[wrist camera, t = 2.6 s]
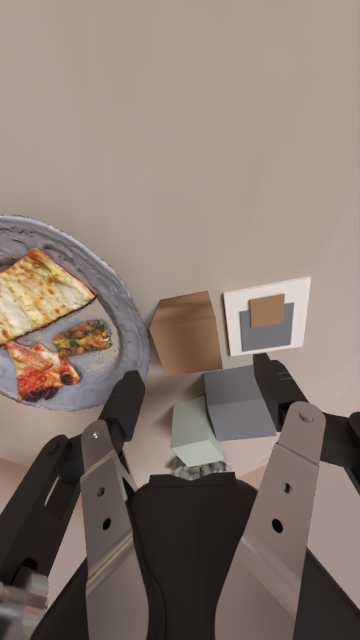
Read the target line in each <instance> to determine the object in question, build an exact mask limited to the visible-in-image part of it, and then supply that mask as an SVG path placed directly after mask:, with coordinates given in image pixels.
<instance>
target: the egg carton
mask: <svg viewBox="0 0 360 640" xmlns="http://www.w3.org/2000/svg"><path fill="white" fill-rule="evenodd" d="M223 455H224V460H223V461H218V462H213V463H208V464H203V465H198V466H193V467H188V466H187V465H186V464H185V463H184V462H183V461H182V460H181V459H180V458H176V457H175V458H174V459H173V469H172V472H171V471H170V474H171V475H174V476H177V477H180V478H183V479H187V480H194V479H197V478H200V477H202V476H205V475H208V474H210V473H217V472H231V465H228V466H227V464H226V457H225V453H224V449H223ZM199 467H201V470H200V469H199Z"/></svg>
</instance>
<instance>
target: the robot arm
mask: <svg viewBox="0 0 360 640" xmlns="http://www.w3.org/2000/svg"><path fill="white" fill-rule="evenodd" d="M253 365H254V376H255V379H256V382H257V385H258V387H259V389H260V392H261V394H262V397H263V399H264V401H265V404H266V406H267V409H268V411H269V413H270V416H271V418H272V421H273V423H274V425H275V428H276V430H277V432H281V434H280V437H279V440H278V442H277V443H275V445H274V447H273V450H272V453H271V456H270V459H269V462H268V465H267V467H266V470H265V473H264V476H263V479H262V482H261V485H260V488H259V491H258V490H257V489H255V488H254V487H253V486H251V485H249V484H248V483H245V482H244V481H241V480H238V479H236V476H235V472H217V473H210V474H208V475H205V476H202V477H200V478H197V479H194V480H187V479H183V478H180V477H177V476H174V475H171V474H162V475H150V479H149V483H147V484H145V485H143V486H142V487H140V488H139V489H138V487H137V485H136V483H135V481H134V478H133V476H132V473H131V470H130V467H129V464H128V461H127V458H126V455H125V452H124V449H123V444H124V442H128V441H131V440H132V436H133V433H134V429H135V426H136V422H137V419H138V415H139V412H140V408H141V405H142V401H143V398H144V394H145V386H144V383H143V381H142V379H141V376H140V374H139V372H138V370H132V371H126V372H125V374H124V376H123V379H120V380H119V381H118V382H117V383H116V384H115V385H114V387H113V389H112V392H111V394H110V396H109V399H108V400H107V402H106V404H105V406H104V408H103V410H102V412H101V414H100V416H99V418H98V420H97V421H94V422H93V423H91V424H90V425H89V426H88V427H87V428H86V429H85V430H84V432H83V434H80V435H78V436H75V437H73V438H70V439H68V438H67V437H66V436H65V435H58V436H56V437H54V438H53V439H51V440H50V441H49V442H48V443H47V444H46V445H45V446H44V447H43V448H42V450H41V451H40V453H39V455H38V456H37V458H36V459H35V461H34V463H33V464H32V466H31V467H30V469H29V471H28V472H27V474H26V475H25V477H24V478H23V480H22V482H21V483H20V485H19V486H18V488H17V490H16V491H15V493H14V495H13V496H12V497H11V499H10V501H9V502H8V504H7V505H6V507H5V509H4V510H3V512H2V513H1V515H0V640H360V610H359V608H358V607H357V606H356V605H355V604H354V603H353V601H352V600H351V599H350V598H349V597H348V595H347V594H346V593H345V592H344V591H343V589H342V588H341V587H340V586H339V585H338V583H337V582H336V581H335V580H334V579H333V577H332V576H331V575H330V574H329V573H328V572H327V570H326V569H325V568H324V567H323V566H322V564H321V563H320V562H319V561H318V560H317V558H316V557H315V556H314V555H313V554H312V552H311V551H310V550H309V549H308V548H307V541H308V535H309V528H310V522H311V516H312V509H313V503H314V496H315V491H316V484H317V478H318V471H319V461H324V462H327V463H330V464H334V465H337V466H341V467H344V469H345V471H346V472H347V474H348V476H349V478H350V480H351V481H352V483H353V485H354V486H355V488H356V490H357V492H358V494H359V495H360V412H354V413H352V414H351V415H350V417H349V418H347V417H342V416H336V415H331V414H327V413H324V412H322V411H321V410H320V409H319V408H317V407H316V406H314V405H312V404H310V403H309V402H308V400H307V399H306V397H305V396H304V394H303V393H302V391H301V390H300V388H299V387H298V385H297V384H296V382H295V381H294V379H292V376H291V375H290V373H289V372H288V370H287V369H286V367H285V366H284V365H283V364H282V363H280V362H279V361H278V360H270V359H269V357H268V355H267V354H266V353H260V354H253ZM57 477H58V478H59V480H58V481H57V484H56V485H55V488H54V490H53V492H52V494H51V496H50V498H49V500H48V502H47V504H46V506H45V501H46V498H47V496H48V494H49V492H50V490H51V488H52V486H53V484H54V482H55V480H56V478H57ZM80 492H81V496H82V507H83V517H84V529H85V540H86V550H87V557H86V558H85V560H84V561H83V563H82V564H81V565H80V567H79V568H78V569H77V571H76V572H75V573H74V575H73V576H72V577H71V579H70V580H69V582H68V583H67V584H66V586H65V587H64V589H63V590H62V591H61V593H60V594H59V595H58V597H57V598H56V600H55V601H54V602H53V604H52V605H51V606H50V608H49V609H48V611H47V612H46V610H47V607H48V597H47V595H48V588H49V587H48V576H49V573H50V571H51V568H52V565H53V563H54V560H55V557H56V555H57V552H58V550H59V547H60V545H61V542H62V539H63V537H64V534H65V531H66V529H67V526H68V524H69V521H70V518H71V515H72V513H73V510H74V508H75V505H76V503H77V500H78V497H79V495H80Z"/></svg>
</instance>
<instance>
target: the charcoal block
mask: <svg viewBox="0 0 360 640" xmlns="http://www.w3.org/2000/svg"><path fill="white" fill-rule="evenodd" d="M204 381H205V391H206V401H207V408H208V411H209V414H210V418H211V421H212V424H213V427H214V431H215V434H216V437H217V441H228V440H238V439H248V438H258V437H268V436H276V428H275V425H274V423H273V421H272V418H271V416H270V413H269V411H268V409H267V406H266V404H265V401H264V399H263V397H262V394H261V392H260V389H259V387H258V385H257V382H256V379H255V376H254V365H250V366H244V367H238V368H232V369H226V370H220V371H213V372H207V373H204Z"/></svg>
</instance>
